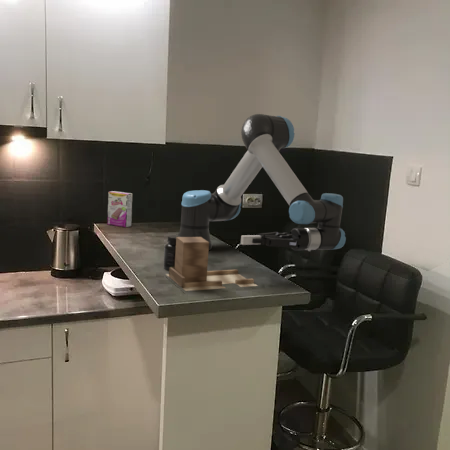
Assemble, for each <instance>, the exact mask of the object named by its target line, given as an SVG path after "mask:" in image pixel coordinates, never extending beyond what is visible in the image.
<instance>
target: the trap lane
mask: <svg viewBox="0 0 450 450" xmlns="http://www.w3.org/2000/svg"><path fill="white" fill-rule="evenodd" d="M165 275H166V276H167V277H168V278H167V277H166V278H167V279H168V281H170V279H171V280H172V281H173V282H174V283H173V285H174V286H176V287H177V285H178V286H179V287H180V288H181V289H183V290H184V291H186V292H189V291H190V292H191V291H203V290H217V289H218V290H220V289H226V286H224V285H228V284H235V285H237V286H239V287H240V288H245V287H246V288H247V287H258V286H259V285H257V284H256V283H255V279H254V278H246V277H245V276H243V275H242V274H240V273H239V270H238V269H220V270H219V269H218V270H207V281H204V282H188V283H185V277H183V276H182V275H181V274H180V273H178V272H177V271H176V270H174V269H173V268H172V267H170V268H169V270H168V273H165ZM169 278H170V279H169ZM175 283H176V284H177V285H175ZM183 290H181V292H182V293H183V294H185V293H184V292H183Z"/></svg>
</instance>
